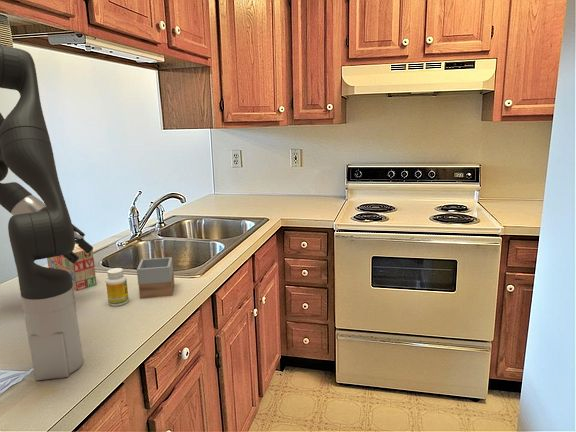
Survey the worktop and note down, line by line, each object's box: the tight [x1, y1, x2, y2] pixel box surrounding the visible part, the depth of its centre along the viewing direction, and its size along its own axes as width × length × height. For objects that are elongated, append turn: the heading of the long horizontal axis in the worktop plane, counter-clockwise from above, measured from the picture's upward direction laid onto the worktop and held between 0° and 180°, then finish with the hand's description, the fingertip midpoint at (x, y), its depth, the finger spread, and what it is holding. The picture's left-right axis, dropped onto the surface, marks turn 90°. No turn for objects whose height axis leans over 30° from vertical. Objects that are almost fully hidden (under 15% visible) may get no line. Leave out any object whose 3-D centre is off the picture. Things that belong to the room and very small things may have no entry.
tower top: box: [136, 256, 174, 286], centre depth 128 cm, size 9×9×4 cm
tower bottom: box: [138, 272, 175, 300], centre depth 129 cm, size 9×9×4 cm
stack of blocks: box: [46, 244, 98, 292], centre depth 138 cm, size 21×6×12 cm, turn 49°
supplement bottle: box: [105, 267, 130, 307], centre depth 121 cm, size 5×5×10 cm
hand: (84, 255), depth 118 cm, fingers open, 8 cm apart
